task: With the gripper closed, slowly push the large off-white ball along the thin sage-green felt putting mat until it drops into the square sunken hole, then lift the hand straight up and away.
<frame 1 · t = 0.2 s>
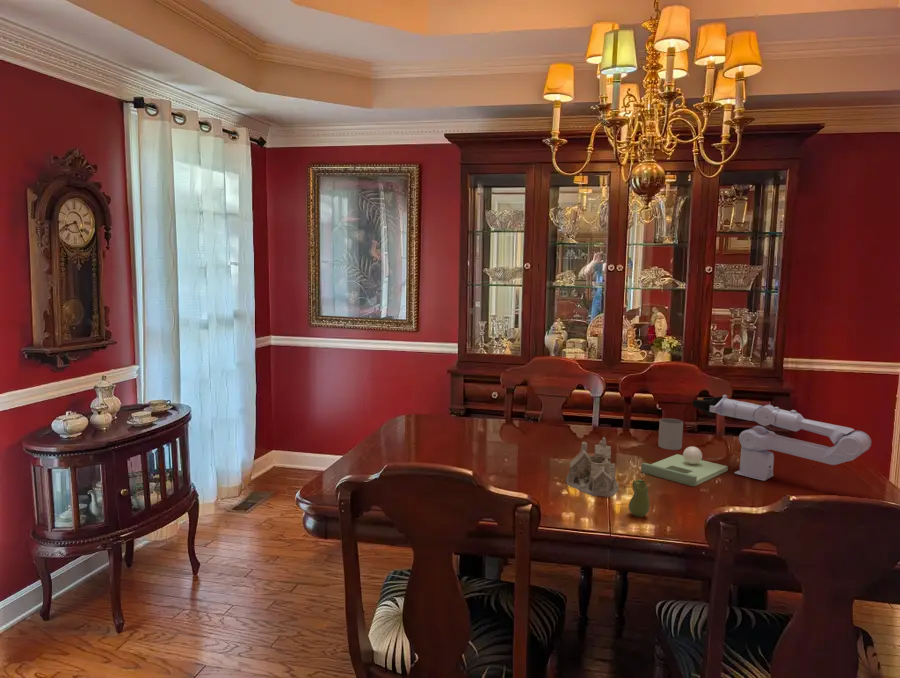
hand: (698, 401, 217), 21 cm above the table, fingers open, 7 cm apart
cup: (669, 447, 237), on the table
putting mat: (684, 471, 207), on the table
ceramic cottage: (590, 487, 192), on the table
pear: (638, 516, 169), on the table
golf ball: (692, 455, 210), point 4 cm above the table, touching putting mat
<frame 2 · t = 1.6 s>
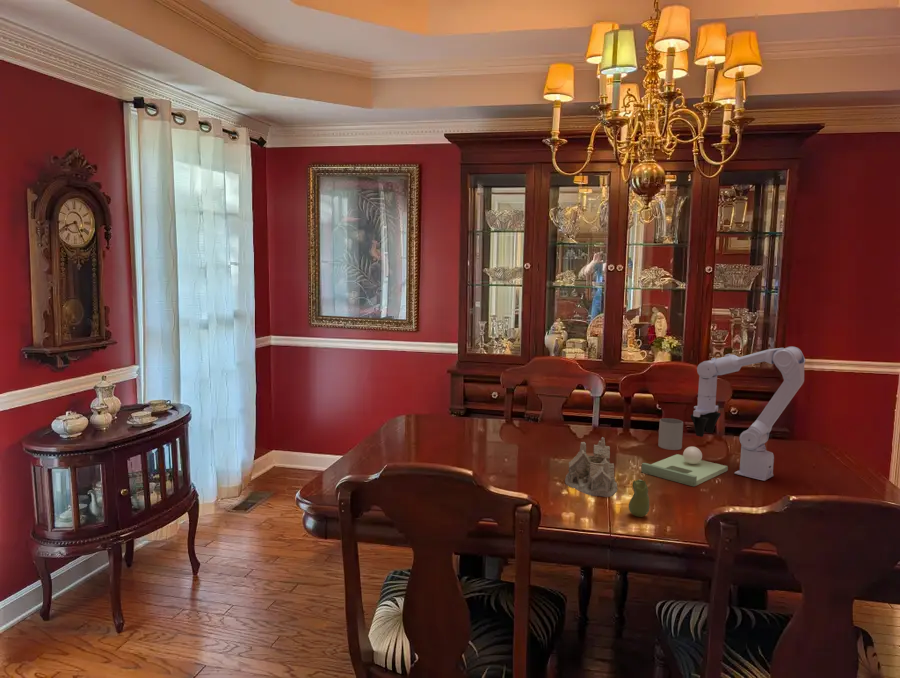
hand: (704, 434, 215), 10 cm above the table, fingers open, 7 cm apart
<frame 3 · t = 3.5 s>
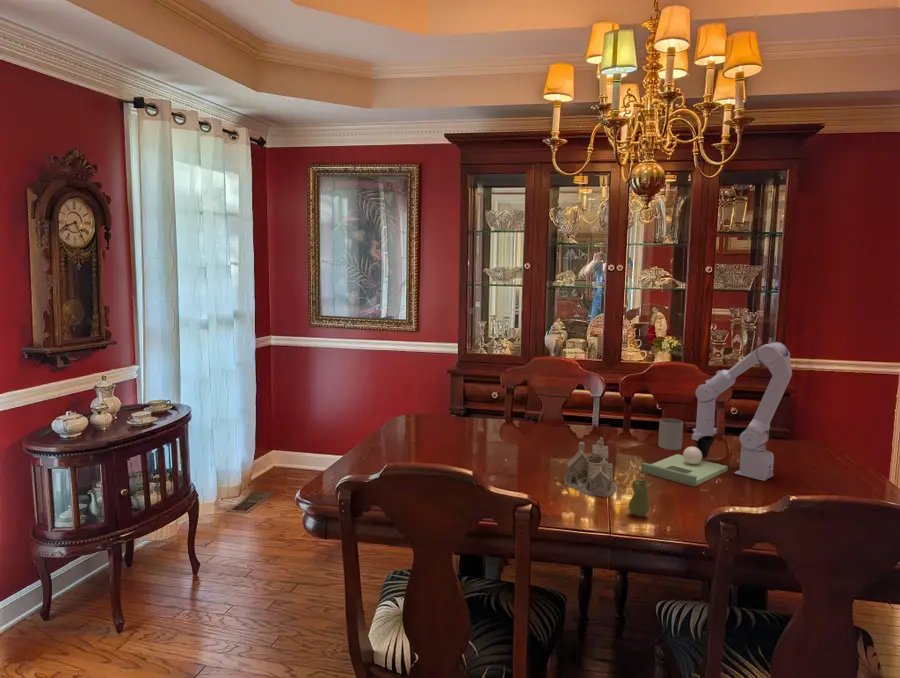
hand: (703, 456, 216), 2 cm above the table, fingers closed
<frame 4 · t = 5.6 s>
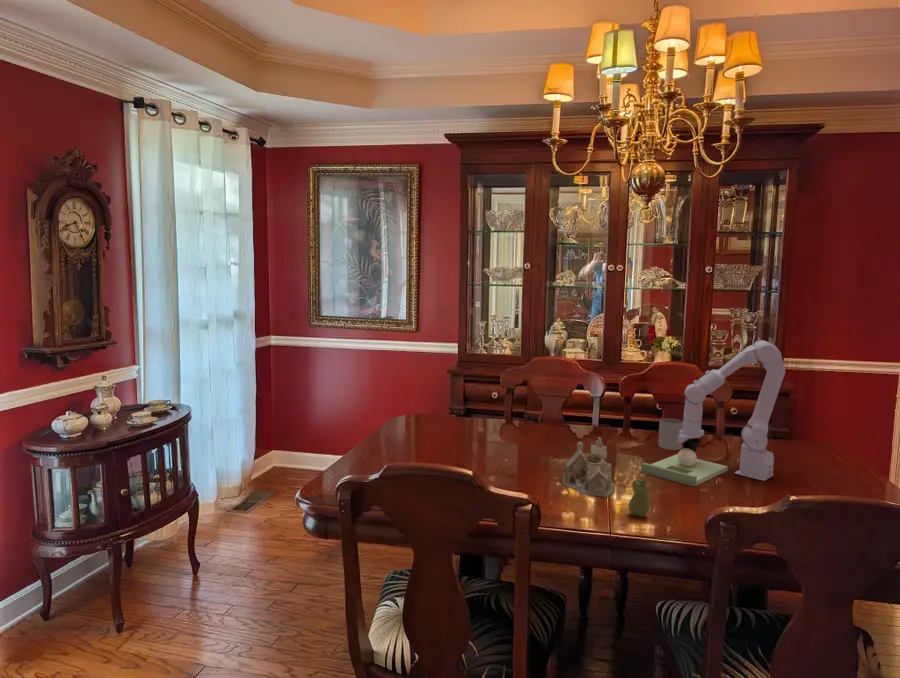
hand: (688, 459, 210), 3 cm above the table, fingers closed, pressing on golf ball
golf ball: (686, 457, 208), point 4 cm above the table, tilted 66°, touching gripper, putting mat
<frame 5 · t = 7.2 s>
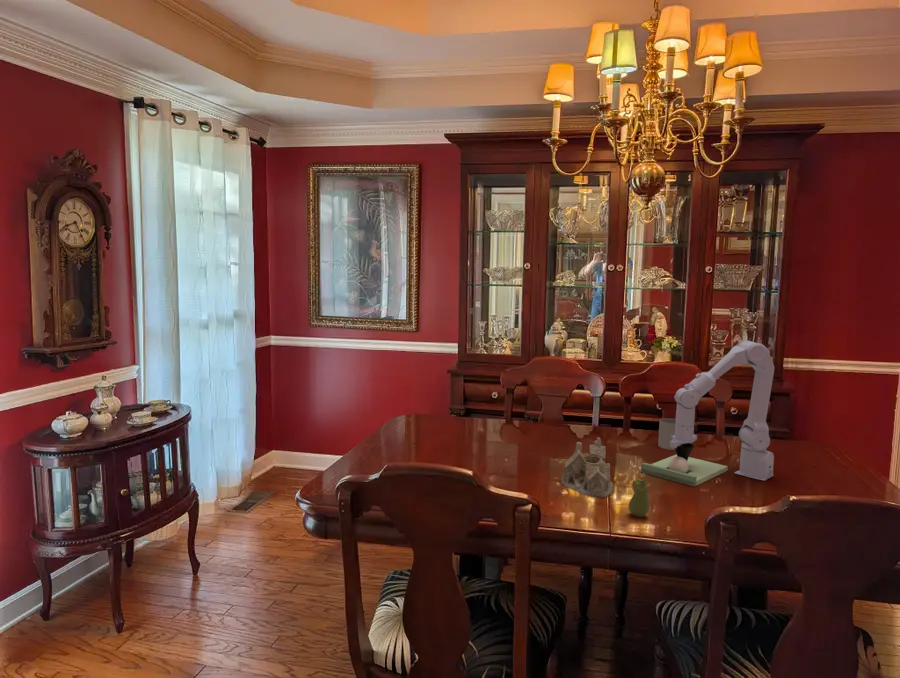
hand: (682, 465, 206), 3 cm above the table, fingers closed, pressing on golf ball
golf ball: (678, 465, 203), point 3 cm above the table, tilted 154°, touching gripper, putting mat
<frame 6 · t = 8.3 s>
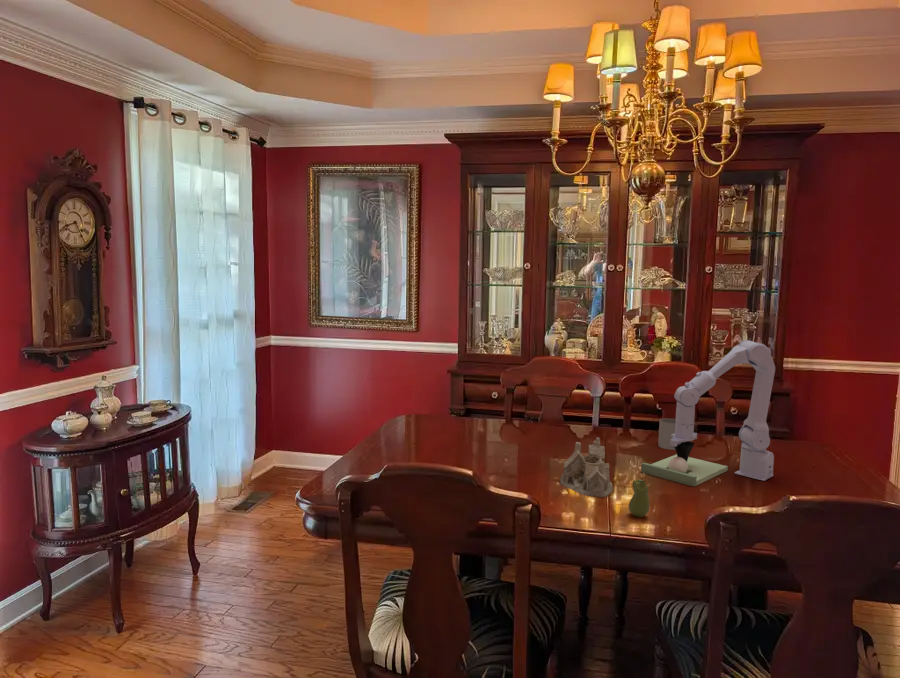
hand: (682, 463, 206), 3 cm above the table, fingers closed, pressing on golf ball
golf ball: (678, 466, 203), point 3 cm above the table, tilted 144°, touching gripper, putting mat
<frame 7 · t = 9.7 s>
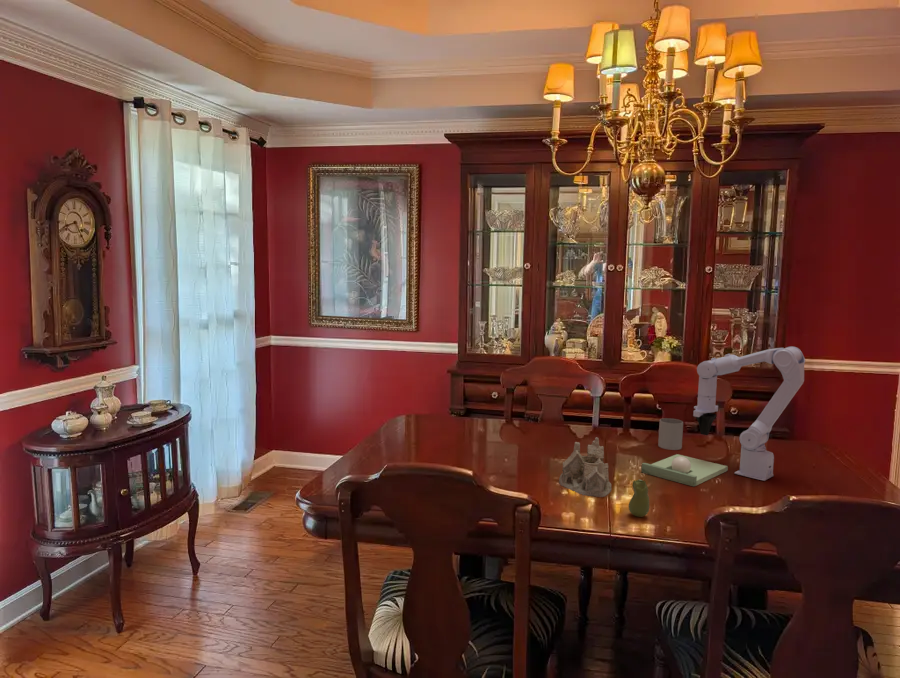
hand: (704, 434, 215), 10 cm above the table, fingers closed
golf ball: (681, 465, 203), point 3 cm above the table, tilted 162°, touching putting mat
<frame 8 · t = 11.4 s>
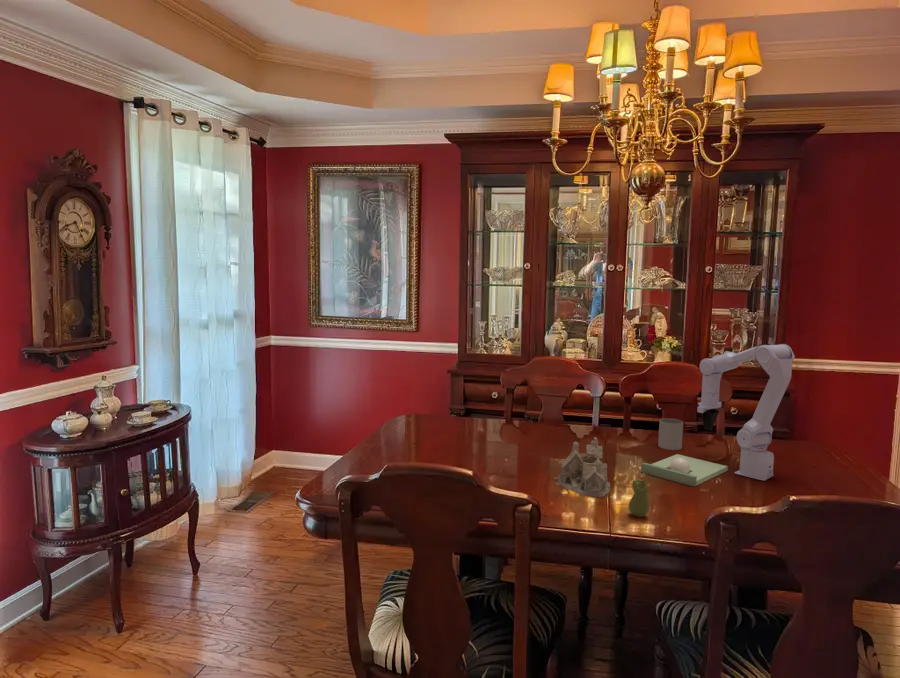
hand: (708, 429, 221), 10 cm above the table, fingers closed
golf ball: (680, 466, 202), point 3 cm above the table, tilted 137°, touching putting mat
at the end: golf ball 1.3 cm from the target spot on the putting mat, point 3.1 cm above the putting mat's base; golf ball moved 11.0 cm from its start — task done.
